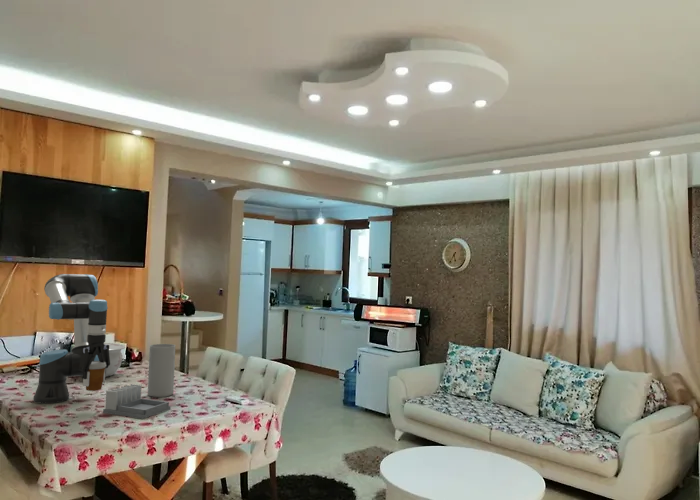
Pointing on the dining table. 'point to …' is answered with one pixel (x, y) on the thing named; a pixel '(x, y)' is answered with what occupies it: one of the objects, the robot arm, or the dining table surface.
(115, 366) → the chamber pot
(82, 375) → the robot arm
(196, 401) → the dining table surface
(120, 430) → the dining table surface
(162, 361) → the cylinder vase
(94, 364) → the disposable coffee cup
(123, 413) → the dish rack
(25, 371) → the dining table surface
